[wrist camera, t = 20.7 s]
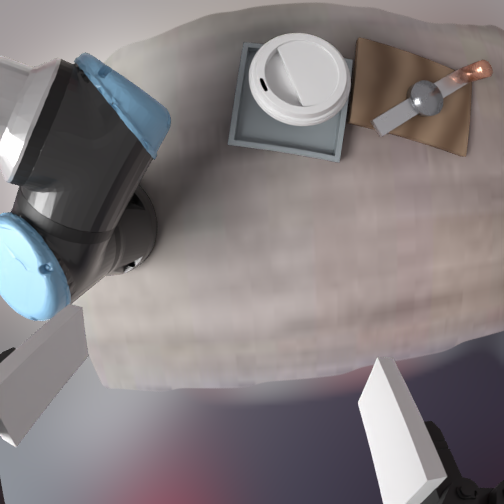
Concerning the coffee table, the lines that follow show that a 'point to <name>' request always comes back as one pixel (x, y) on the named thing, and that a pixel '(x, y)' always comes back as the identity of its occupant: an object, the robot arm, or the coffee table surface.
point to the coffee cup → (299, 79)
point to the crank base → (395, 91)
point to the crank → (429, 96)
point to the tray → (278, 133)
